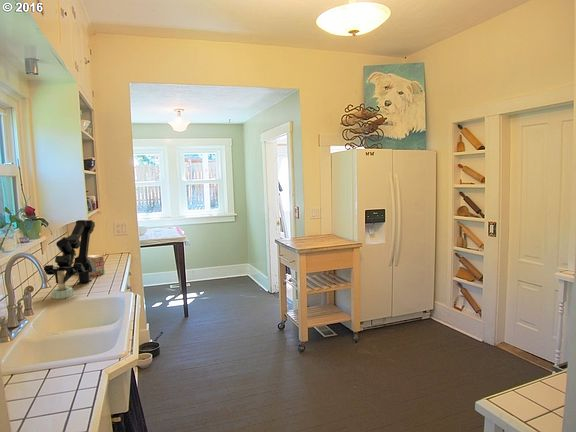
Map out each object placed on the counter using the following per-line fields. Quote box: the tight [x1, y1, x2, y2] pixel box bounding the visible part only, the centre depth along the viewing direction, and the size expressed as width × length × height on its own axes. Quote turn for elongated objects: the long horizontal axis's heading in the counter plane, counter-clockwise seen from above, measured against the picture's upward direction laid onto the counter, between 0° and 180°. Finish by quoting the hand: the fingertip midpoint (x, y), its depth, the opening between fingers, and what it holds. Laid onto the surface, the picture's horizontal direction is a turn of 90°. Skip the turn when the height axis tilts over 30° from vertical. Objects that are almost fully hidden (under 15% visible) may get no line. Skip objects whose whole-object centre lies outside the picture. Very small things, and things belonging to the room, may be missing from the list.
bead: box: [51, 286, 74, 300], centre depth 200 cm, size 9×9×4 cm
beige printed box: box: [87, 254, 105, 277], centre depth 254 cm, size 21×6×12 cm, turn 60°
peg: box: [57, 270, 67, 291], centre depth 200 cm, size 3×3×12 cm
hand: (60, 282), depth 198 cm, fingers closed on peg, 3 cm apart
